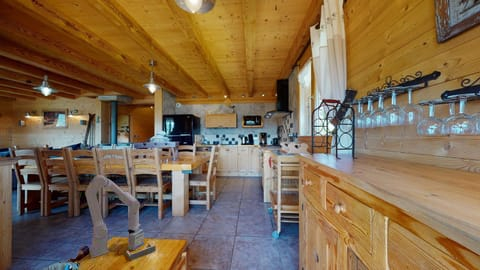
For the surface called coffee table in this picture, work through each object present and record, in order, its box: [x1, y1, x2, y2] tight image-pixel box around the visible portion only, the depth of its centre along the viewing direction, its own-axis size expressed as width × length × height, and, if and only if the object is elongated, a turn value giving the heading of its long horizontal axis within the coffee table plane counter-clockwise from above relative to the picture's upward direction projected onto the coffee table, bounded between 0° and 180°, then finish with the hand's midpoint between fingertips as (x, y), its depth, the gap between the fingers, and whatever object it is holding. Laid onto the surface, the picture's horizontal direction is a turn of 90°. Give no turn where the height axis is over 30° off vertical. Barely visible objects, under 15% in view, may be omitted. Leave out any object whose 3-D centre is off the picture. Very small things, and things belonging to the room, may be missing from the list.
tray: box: [125, 242, 157, 262], centre depth 106 cm, size 9×13×3 cm
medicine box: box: [127, 228, 145, 251], centre depth 113 cm, size 8×4×9 cm, turn 168°
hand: (133, 240), depth 118 cm, fingers closed
